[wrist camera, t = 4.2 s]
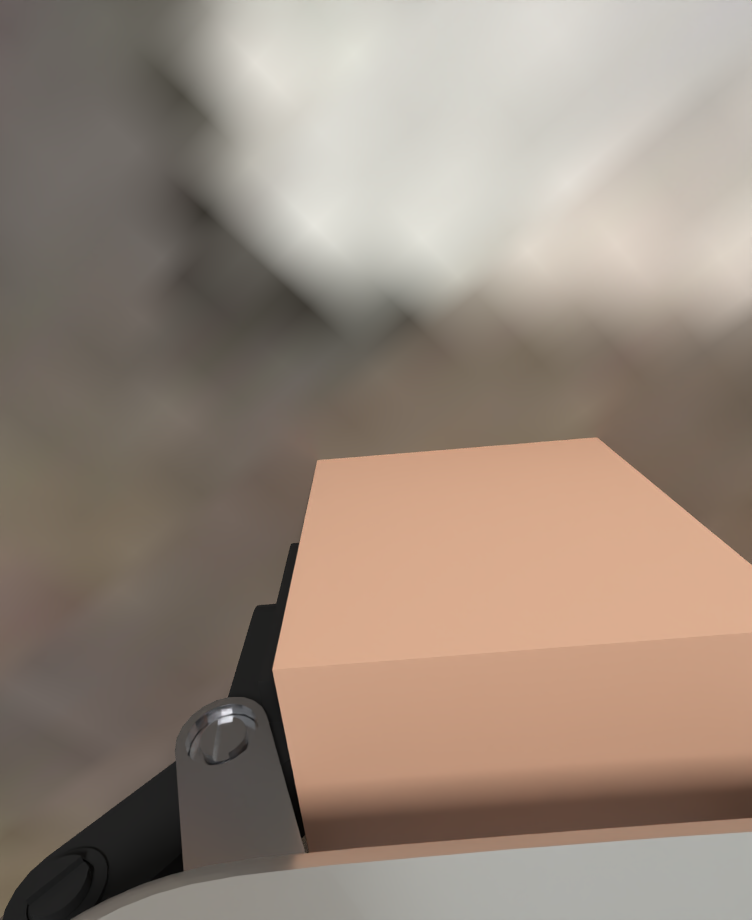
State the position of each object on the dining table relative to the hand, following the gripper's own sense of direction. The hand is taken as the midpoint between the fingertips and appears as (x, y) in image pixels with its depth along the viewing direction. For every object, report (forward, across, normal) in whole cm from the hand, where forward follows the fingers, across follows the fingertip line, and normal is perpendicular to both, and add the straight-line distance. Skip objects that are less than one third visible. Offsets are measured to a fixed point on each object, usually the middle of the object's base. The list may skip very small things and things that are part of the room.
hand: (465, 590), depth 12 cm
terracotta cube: (+1, 0, 0) cm, 1 cm away
